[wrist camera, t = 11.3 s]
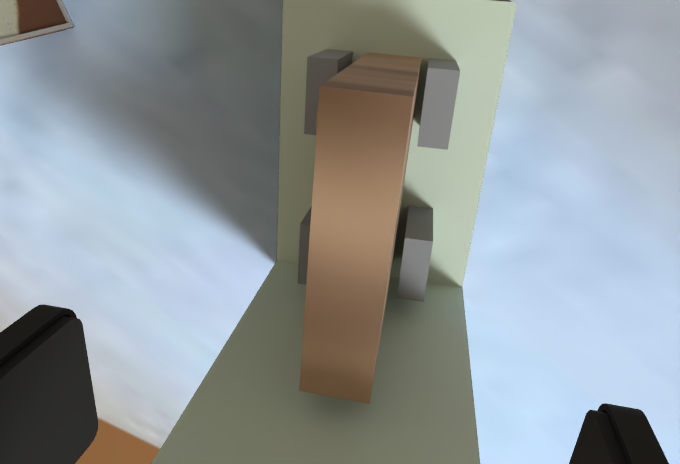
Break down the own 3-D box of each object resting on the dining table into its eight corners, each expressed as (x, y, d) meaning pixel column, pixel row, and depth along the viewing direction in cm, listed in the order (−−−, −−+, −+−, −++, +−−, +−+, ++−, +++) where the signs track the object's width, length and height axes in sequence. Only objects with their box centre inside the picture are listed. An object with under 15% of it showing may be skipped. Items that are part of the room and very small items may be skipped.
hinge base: (291, -15, 24) (20, -54, 8) (511, 2, 23) (687, -8, 7) (283, 270, 30) (117, 559, 14) (456, 295, 29) (484, 641, 13)
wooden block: (355, 50, 23) (297, 83, 13) (422, 57, 23) (413, 96, 13) (336, 249, 27) (281, 387, 18) (393, 258, 27) (369, 403, 17)
